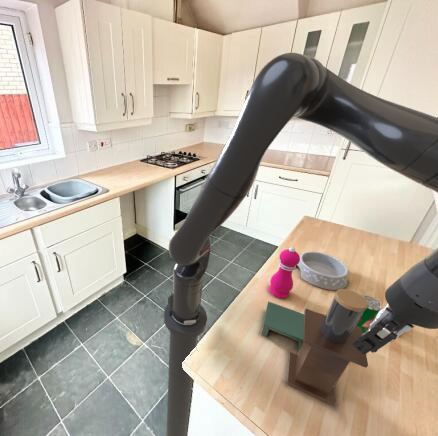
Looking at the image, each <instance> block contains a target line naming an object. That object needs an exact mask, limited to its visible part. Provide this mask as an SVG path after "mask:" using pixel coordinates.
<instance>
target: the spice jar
mask: <svg viewBox="0 0 438 436" xmlns="http://www.w3.org/2000/svg"><path fill="white" fill-rule="evenodd" d="M363 296H364V295H362V294H360V293H358V292H357V291H355V290H351V289H348V288H343V289H339V290H336V292H335V294H334V297H333V299H332V301H331V303H330V305H329V307H328V310H327V312H326V314H325V315H326V316H325V318H324V320H323V322H322V324H321V326H320V330H321V332H322V334H323V335H324V336H325V337H326V338H327V339H329V340H330V341H332V342H335V343H339V344H343V343H345V342H346V341H347V340H348V338H349V336H350V335H351V333H352V331H353V329H354V328H355V326H356V324H357V323H358V321H359V319H360V317H361V316H362V314H363V312H364V311H365V310H366V309H367V307H368V302H367V300H366V299H365V298H364V297H363Z"/></svg>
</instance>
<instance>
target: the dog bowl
mask: <svg viewBox="0 0 438 436" xmlns="http://www.w3.org/2000/svg"><path fill="white" fill-rule="evenodd" d="M299 256H300V262H299V263H298V264H297V265H296V266H297V267H298V268H299V270H300V273H301V275H300V278H301V280H304V281H305V282H306V283H308V284H310V285H312V286H315V287H318V288H320V289H324V290H330V291H338V290H339V289H345V288H346V287H347V284H348V277H349V268H348V266H347V265H346V264H345V263H344V262H343V261H341V260H340V259H339V258H337V257H335V256H333V255H330V254H328V253H324V252H321V251H313V250H312V251H311V250H309V251H304V252H302V253H301V254H299Z"/></svg>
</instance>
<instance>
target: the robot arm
mask: <svg viewBox="0 0 438 436" xmlns="http://www.w3.org/2000/svg"><path fill="white" fill-rule="evenodd" d="M249 89H250V90H249V92H248V94H247V96H246V99H245V101H244V102H243V105H242V108H241V110H240V113H239V115H238V118H237V120H236V122H235V125H234V127H233V128H232V131H231V134H230V135H229V137H228V139H227V141H226V142H225V144H224V146H223V147H222V149H221V151H220V153H219V155H218V157H217V158H216V160H215V162H214V164H213V166H212V167H211V169H210V170H209V172H208V174H207V176H206V178H205V180H204V182H203V184H202V186H201V187H200V189H199V191H198V194H197V196H196V198H195V199H194V201H193V203H192V205H191V207H190V209H189V211H188V213H187V215H186V217H185V219H184V220H183V222H182V223H181V224H180V227H179V228H178V229H177V231H176V232H175V233H174V234H173V236H172V237H171V239H170V241H169V244H168V253H169V257H170V259H171V260H172V262H173V263H174V265H173V269H172V291H171V293H170V294H169V295H168V296H167V304H168V303H169V304H170V308H169V316H171V317H172V318H173V320H174V321H175V322H176V323H177V324H179V325H182V326H192V325H194V324H196V323H197V322H198V320H199V316H200V305H201V303H202V296H203V287H204V279H205V274H206V272H207V270H208V268H209V261H210V255H211V250H212V249H211V248H212V243H211V236H212V234H213V233H215V232H216V231H217V230H218V229H219V228H220V227H221V226H222V225H223V224H224V223H225V222H226V221H227V220H228V219H229V218H230V217H231V216H232V215H233V213H234V212H235V211H236V210H237V209H238V208H239V207H240V205H241V204H242V202H243V201H244V200H245V198H246V197H247V195H248V194H249V193H250V191H251V189H252V187H253V185H254V183H255V180H256V177H257V175H258V171H259V169H260V166H261V163H262V161H263V158H264V156H265V154H266V152H267V150H268V149H269V147H270V146H271V145H272V143H273V142H274V141H275V139H276V138H277V137H278V136H279V134H280V133H281V132H282V130H283V129H284V128H285V127H286V125H287V124H288V123H289V122H290V121H291V120H292V119H298V120H302V121H306V122H309V123H312V124H315V125H318V126H321V127H322V128H325V129H327V130H329V131H332V132H334V133H335V134H336V135H339V136H341V137H342V138H344V139H345V140H347V141H349V142H350V143H351V144H352V145H354V146H355V147H356V148H358V149H359V150H361V151H362V152H363V153H365V154H366V155H367V156H369V157H370V158H372V159H374V160H375V161H377V162H378V163H380V164H382V165H383V166H385V167H386V168H388V169H390V170H391V171H394V172H396V173H397V174H399V175H401V176H403V177H405V178H407V179H409V180H411V181H412V182H414V183H417V184H419V185H421V186H423V187H425V188H427V189H429V190H431V191H434V192H436V193H437V194H438V117H437V116H433V115H432V114H429V113H425V112H423V111H419V110H416V109H413V108H411V107H406V106H404V105H401V104H398V103H395V102H392V101H391V100H388V99H384V98H381V97H380V96H376V95H374V94H371V92H367V91H365V90H363V89H361V88H359V87H357V86H355V85H353V84H352V83H350V82H348V81H346V80H345V79H343V78H342V77H340V76H339V75H338V74H336V73H335V72H333V71H332V70H330V69H329V68H327V67H325V66H324V65H323V63H322V62H320V61H319V59H316V58H315V57H312V56H309V55H305V54H303V53H299V52H287V53H283V54H280V55H277V56H275V57H273V58H272V59H271V60H269V61H268V62H267V63H266V64H265V65H264V66H263V67H262V68H261V70H260V71H259V72H258V74H257V75H256V77H255V78H254V80H253V82H252V84H251V87H250V88H249ZM384 298H385V301H386V303H387V304H388V306H389V307H387V308H385V307H384V308H385V309H384V308H383V309H384V310H383V309H382V310H383V311H382V312H381V313H380V316H379V317H378V318H375V319H374V321H373V322H372V323H371V324H370V325H369V326H370V327H369V329H368V330H367V332H366V333H363V334H362V336H361V337H359V338H358V340H356V341H355V342H354V343H353V346H354V347H355V348H356V349H357V350H358V351H360V352H361V353H362V354H366V355H367V354H368V353H372V354H374V353H377V352H378V351H379V350H380V349H382V348H383V347H385V346H386V345H387V344H389V343H392V342H394V341H395V340H396V339H398V338H399V337H400V336H401V335H403V334H405V333H406V334H407V333H409V332H410V331H411V330H412V329H414V328H415V326H417V327H420V328H423V329H428V330H436V329H437V330H438V247H437V248H435V249H434V250H433V251H431V253H430V254H428V255H427V256H426V257H425V258H423V259H422V260H420V261H418V262H417V263H416V264H414V265H413V266H411V267H410V268H409V269H408V270H407V271H406V272H404V274H402V275H401V276H400V277H399V278H398V279H396V280H395V282H393V283H392V284H391V285H389V287H388V288H387V289H386V290H385V292H384ZM201 306H202V305H201ZM396 331H397V332H396ZM394 332H396V333H394Z"/></svg>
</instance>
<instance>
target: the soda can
mask: <svg viewBox="0 0 438 436" xmlns="http://www.w3.org/2000/svg"><path fill="white" fill-rule="evenodd" d="M362 296H363V297H364V298H365V299H366V300H367V302H368V307H367V309H366V310H365V311H364V312H363V314H362V316H361V317H360V319H359V321H358V323H357V324H356V326H358V327H361V331H362V334H363V333H366V332H367V331H368V330H369V329H370V326H369V325H370V324H371V323H372V322H373V321H374V320H375V319H376V317H377V314H378V313H379V311H381V310H382V303H381V301H380V300H378V299H377V298H375V297H373V296H370V295H362Z"/></svg>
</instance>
